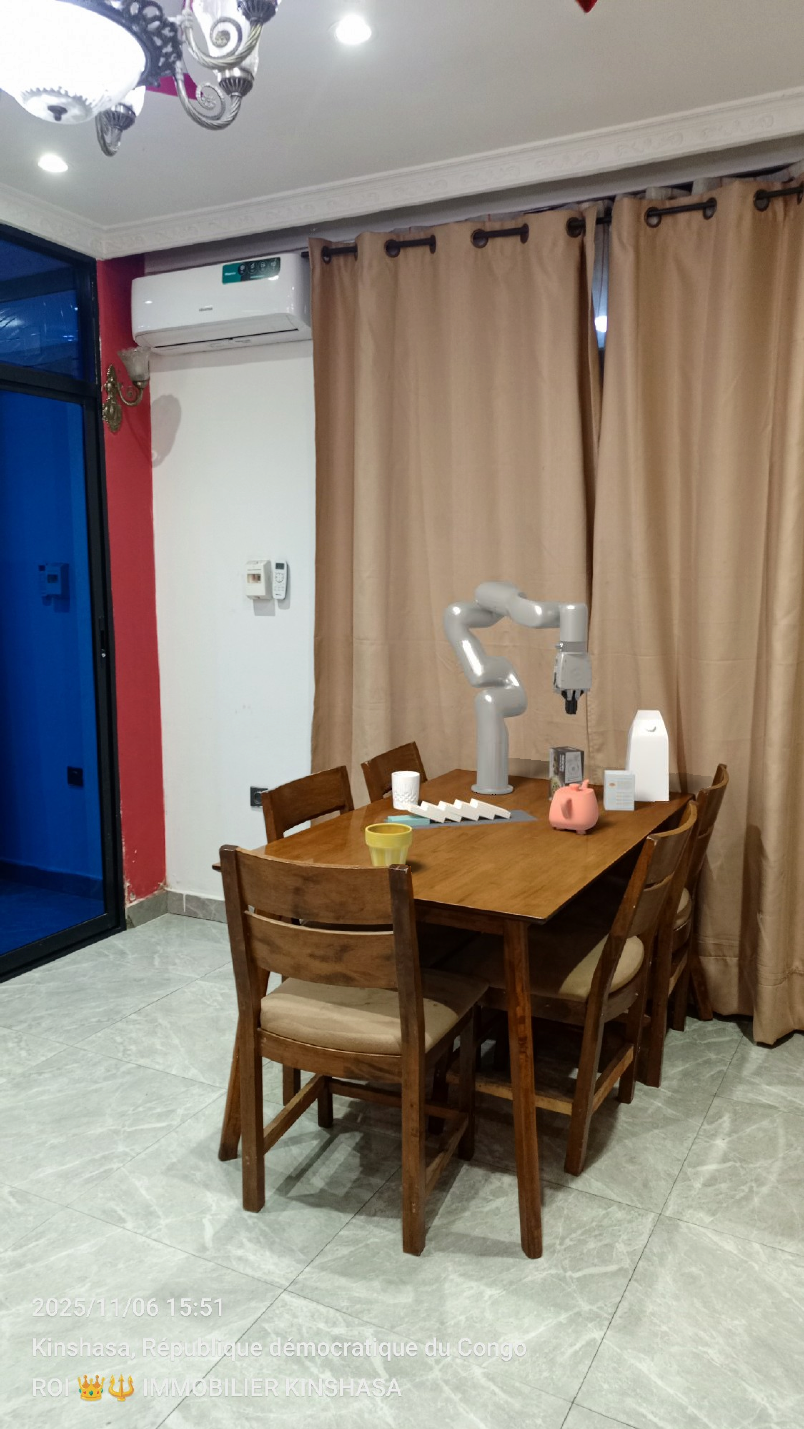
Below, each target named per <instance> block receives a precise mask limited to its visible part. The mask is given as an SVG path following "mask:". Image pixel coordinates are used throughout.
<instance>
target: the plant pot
mask: <svg viewBox="0 0 804 1429" xmlns="http://www.w3.org/2000/svg"><path fill="white" fill-rule="evenodd" d="M364 831H365V844H366V845H367V846H368V849H369V855H370V859H371V864H372V867H373V866H389V865H391V864H405V865H406V862H407V858H408V852H409V848H410V846H411V845H412V844H413V829H412V828H411V827H410V826H407V825H404V824H396V823H386V822H384V823H383V822H382V823H376V824H375V823H374V824H371V825H368V826H366V827H365V830H364Z"/></svg>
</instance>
